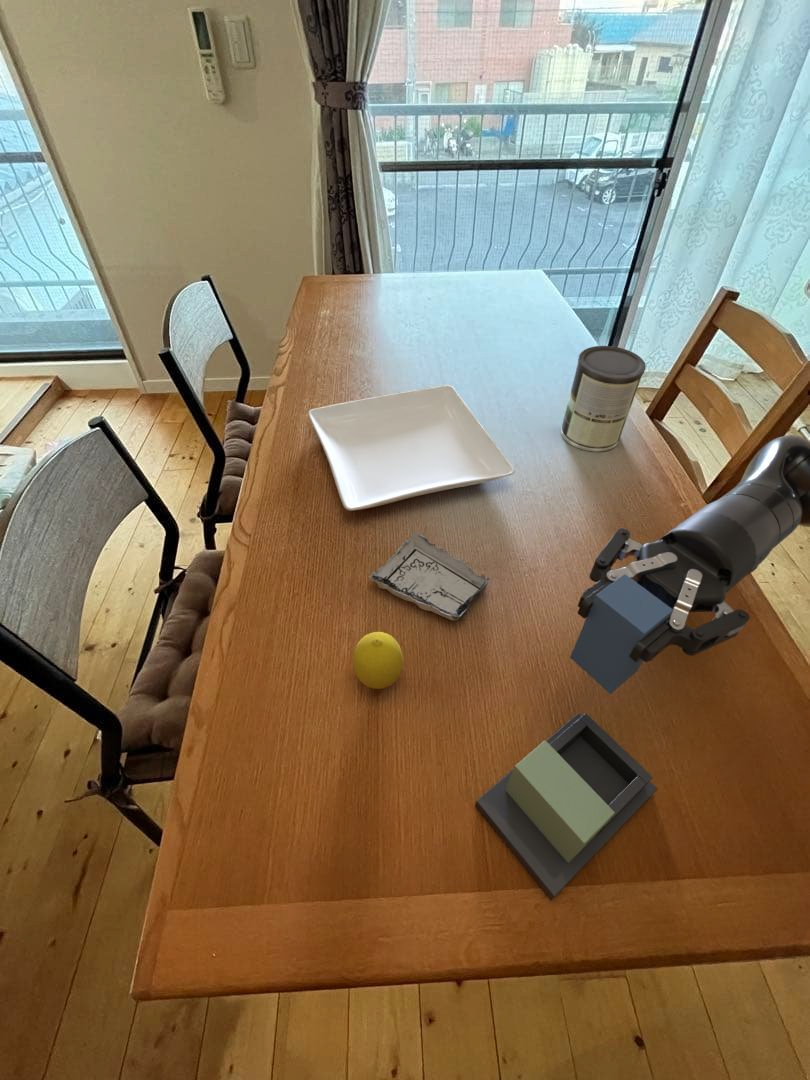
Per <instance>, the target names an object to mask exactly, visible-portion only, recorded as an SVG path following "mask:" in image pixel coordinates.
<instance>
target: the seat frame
mask: <svg viewBox="0 0 810 1080" xmlns="http://www.w3.org/2000/svg"><path fill="white" fill-rule="evenodd" d="M653 778H654V777H653V775H652V774H651V773H649V772H648V771H647V769H645V768H644V767H643V766H642V765H641V764H640V763H639V762H638V761H637V760H636V759H635V758H634V757H633V756H631V755H630V754H629V753H628V752H627V751H626V749H624V748H623V747H622V746H621V745H620V744H619V743H618V742H617V741H616V740H615V739H614V738H613V737H612V736H611V735H609V733H607V732H606V731H605V729H604V728H602V726H600V725H599V724H598V723H597V722H596V721H595V720H594V719H593V718H592V717H591V716H590V715H588V713H586V712H584V713H583V715H581V713H580V712H578V713H576V714H575V715H574V716H573V717H572V718H570V719H569V720H568V721H567V722H566V723H565V724H563V726H561V727H560V728H559V729H558V730H556V731H555V732H554V733H553V734H552V735H551V736H549V737H548V738H547V739H546V740H543V741H542V742H541V743H539V744H538V745H537V746H536V747H535V748H534V749H533V750H531V752H529V753H528V754H527V755H526V756H525V757H523V758H522V759H521V760H520V761H519V762H518V763H516V764H515V765H514V768H512V769H511V770H510V771H509V772H508V773H507V774H505V775H504V776H503V777H502V778H501V779H500V780H498V781H497V782H496V783H495V784H494V785H493V786H492V787H490V788H489V789H488V790H487V791H486V792H485V793H483V794H482V795H481V796H480V797H479V798H477V799H476V800H475V803H474V807H476V809H477V810H478V812H479V813H480V814H481V816H482V817H483V818H484V819H485V821H486V822H487V823H488V824H489V825H490V827H491V828H492V829H493V830H494V831H495V833H496V834H497V835H498V836H499V838H500V839H501V840H502V842H503V843H504V844H505V845H506V846H507V848H508V849H509V850H510V852H511V853H512V854H513V855H514V856H515V858H516V859H517V860H518V861H519V863H520V864H521V865H522V867H524V869H525V870H526V871H527V873H528V874H530V876H531V878H532V879H533V880H534V881H535V883H536V884H537V885H538V886H539V887H540V888H541V890H542V891H543V892H544V894H545V895H546V896H547V897H548V899H549V900H550V901H552V900H553V899H554V898H555V897H557V895H558V894H559V893H560V892H561V891H562V890H563V889H564V888H565V887H566V886H567V885H568V884H569V883H570V882H571V880H572V879H574V878H575V876H576V875H577V874H578V873H579V872H581V870H582V869H583V868H584V867H585V866H586V865H587V864H588V863H589V862H590V861H591V860H592V859H593V858H594V856H595V855H596V854H598V852H599V851H601V849H602V848H603V847H604V846H605V845H606V844H607V843H608V842H609V841H610V840H611V838H613V837H614V836H615V834H617V832H618V831H619V830H621V829H622V827H623V826H624V825H625V824H626V823H627V822H628V821H629V820H630V819H631V818H632V817H633V816H634V815H635V814H636V813H637V812H638V810H639V809H640V808H641V807H642V806H643V805H644V804H645V803H646V802H647V801H649V799H650V798H651V797H652V796H653V795H654V794H655V793H656V792H657V790H658V788H657V786H656V785H655V784H653V782H651V780H652V779H653Z"/></svg>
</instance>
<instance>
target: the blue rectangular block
mask: <svg viewBox="0 0 810 1080" xmlns="http://www.w3.org/2000/svg"><path fill="white" fill-rule="evenodd" d="M672 612H673V609H671V608H670V607H669V606H667V605H666V604H665V603H663V602H662V601H661V600H659V599H658V598H657V597H655V596H654V595H653V594H651V593H650V592H648V591H647V590H646V589H644V588H643V587H642V586H640V585H639V584H638V583H636V582H635V581H634V580H632V579H631V578H630V577H628V576H627V575H626V574H624V575H623V576H621V577H620V578H618V579H617V580H616V581H614V582H613V583H612V584H610V585H609V586H608V587H606V588H605V589H604V590H602V591H601V592H599V593H598V594H597V595H596V596H595V598H594V601H593V604H592V607H591V609H590V611H589V614H588V616H587V617H586V618H585V620H584V622H583V624H582V627H581V629H580V633H579V635H578V637H577V639H576V642H575V644H574V647H573V649H572V652H571V654H570V656H569V658H570V660H572V661H573V662H574V663H575V664H576V665H578V667H580V668H581V669H582V670H583V671H584V672H585V673H586V674H587V675H588V676H589V677H591V678H592V679H593V680H594V681H595V682H596V683H597V684H598V685H600V686H601V687H602V688H603V689H604V690H605V691H606V692H607V693H609V694H610V695H612V694H613V693H614V692H615V691H616V690H617V689H618V688H619V687H621V686H622V685H623V684H624V683H626V682H627V681H628V680H629V679H630V678H631V677H632V676H634V675H635V674H636V673H637V672H638V670H639V669H640V667H641V666H642V664H643V662H644V661H643V660H642V659H640V660H639V661H638V662H635V661H633V660H632V659H631V658H630V657H629V655H630V654H631V652H632V650H633V648H634V647H635V645H636V644H637V643H638V642H639V641H640V640H642V639H643V638H644V637H646V636H647V635H648V634H649V633H650V632H652V631H653V630H654V629H655V628H656V627H658V626H659V625H660V624H661V623H662V622H664V623H666V622H667V620H668V618H669V617H670V615H671V613H672Z"/></svg>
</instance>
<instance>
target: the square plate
mask: <svg viewBox="0 0 810 1080" xmlns="http://www.w3.org/2000/svg"><path fill="white" fill-rule="evenodd" d="M307 413H308V417H309V420H310V423H311V425H312V426H313V429H314V431H315V433H316V435H317V437H318V440H319V441H320V444H321V446H322V449H323V452H324V454H325V456H326V459H327V461H328V464H329V467H330V470H331V474H332V477H333V480H334V483H335V486H336V489H337V492H338V496H339V499H340V501H341V504H342V507H343V508H344V509H345V510H346V511H361V510H366V509H371V508H376V507H378V506H385V505H388V504H391V503H392V504H393V503H395V502H398V501H403V500H406V499H410V498H415V497H418V496H423V495H427V494H433V493H437V492H441V491H447V490H452V489H457V488H462V487H468V486H472V485H479V484H483V483H487V482H491V481H496V480H499V479H502V478H505V477H508V476H512V475H514V474H515V472H516V471H515V468H514V467H513V465H512V464H511V462H510V461H509V460H508V458H507V456H506V455H505V454H504V453H503V451H502V450H501V449H500V447H499V446H498V445H497V443H495V441H494V440H493V438H492V437H491V436H490V434H489V433H488V432H487V430H486V429H485V428H484V427H483V425H482V423H480V421H479V420H478V419H477V417H476V416H475V414H474V413H473V411H472V410H471V409H470V408H469V406H468V404H467V403H466V402H465V401H464V399H463V398H462V397H461V395H460V393H459V392H458V391H457V390H456V389H455V388H454V386H453V385H451V384H443V385H437V386H431V387H425V388H418V389H411V390H406V391H400V392H394V393H388V394H384V395H378V396H372V397H366V398H362V399H357V400H356V399H355V400H350V401H346V402H340V403H336V404H329V405H325V406H320V407H315V408H311V409H309V410H308V411H307Z"/></svg>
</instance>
